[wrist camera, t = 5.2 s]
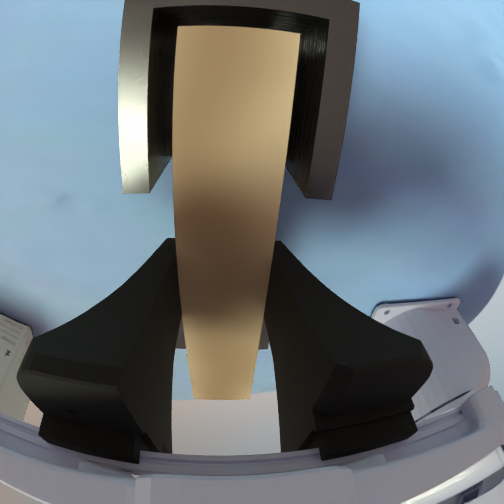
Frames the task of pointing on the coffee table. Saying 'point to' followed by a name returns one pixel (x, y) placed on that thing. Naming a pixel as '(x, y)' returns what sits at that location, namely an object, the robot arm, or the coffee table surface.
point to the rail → (228, 192)
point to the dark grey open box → (238, 15)
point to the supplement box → (12, 366)
